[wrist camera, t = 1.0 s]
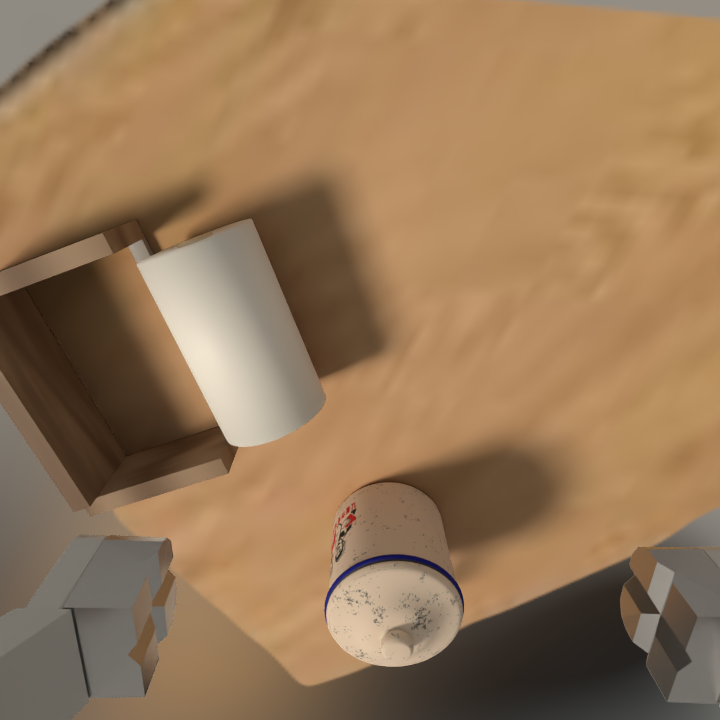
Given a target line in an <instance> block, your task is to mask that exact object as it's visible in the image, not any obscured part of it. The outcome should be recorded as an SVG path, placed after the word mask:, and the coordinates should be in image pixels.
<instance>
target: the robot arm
mask: <svg viewBox="0 0 720 720" xmlns="http://www.w3.org/2000/svg"><path fill="white" fill-rule="evenodd" d="M172 558H173V551H172V544H171V541H170V540H169V539H168V538H163V537H140V536H115V535H110V536H104V535H79V536H77V537H75V538H74V539H73V540H72V541H71V542H70V544H69V545H68V546H67V548H66V549H65V551H64V552H63V554H62V555H61V557H60V558H59V560H58V561H57V562H56V564H55V565H54V567H53V568H52V569H51V571H50V572H49V574H48V575H47V577H46V578H45V580H44V581H43V582H42V584H41V585H40V587H39V588H38V590H37V591H36V593H35V594H34V595H33V597H32V599H31V600H30V601H29V603H28V604H27V606H26V607H25V608H15V609H13V610H11V611H10V612H8V613H7V614H5V615H3V616H2V617H0V720H71V719H72V718H73V717H74V716H75V715H76V714H77V713H78V712H79V711H80V710H81V709H82V708H83V707H84V706H85V705H86V704H87V703H88V702H89V698H117V697H119V698H120V697H145V695H146V693H147V690H148V687H149V685H150V682H151V679H152V677H153V674H154V671H155V668H156V666H157V663H158V660H159V656H158V647H157V644H158V643H159V642H160V641H162V640H163V639H164V638H165V637H166V636H167V635H168V632H169V629H170V627H171V624H172V621H173V616H174V610H175V605H176V578H175V576H174V575H173V574H172V573H171V572H170V571H169V570H168V568H169V566H170V563H171V561H172ZM629 565H630V567H631V569H632V570H633V572H634V574H635V575H634V576H633V577H632V578H631V579H630V580H628V581H627V582H626V583H625V584H624V585H623V590H622V594H621V599H620V604H621V616H622V619H623V622H624V625H625V628H626V630H627V632H628V634H629V636H630V638H631V639H632V641H633V642H634V643H635V644H636V645H638V646H639V647H641V648H642V649H643V650H644V651H646V652H647V653H648V657H647V662H646V666H647V668H648V669H649V671H650V673H651V675H652V676H653V678H654V680H655V682H656V683H657V685H658V687H659V688H660V690H661V692H662V694H663V695H664V697H665V699H666V701H667V702H682V703H708V704H720V547H694V548H677V547H674V548H673V547H638V548H637V549H636V550H635V551H634V553H633V554H632V558H631V561H630V564H629ZM719 707H720V706H719Z"/></svg>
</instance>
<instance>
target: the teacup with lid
mask: <svg viewBox="0 0 720 720" xmlns="http://www.w3.org/2000/svg"><path fill="white" fill-rule="evenodd" d="M463 612H464V600H463V596H462V593H461V590H460V588H459V586H458V584H457V582H456V581H455V577H454V573H453V568H452V564H451V559H450V555H449V550H448V546H447V541H446V537H445V532H444V528H443V523H442V519H441V515H440V512H439V510H438V508H437V507H436V505H435V503H434V502H433V501H432V500H431V499H430V498H429V497H428V496H427V495H426V494H424V493H423V492H421V491H420V490H418V489H416V488H414V487H411V486H409V485H405V484H401V483H392V482H385V483H377V484H372V485H369V486H366V487H363V488H361V489H359V490H357V491H356V492H354V493H353V494H351V495H350V496H349V497H348V498H347V499H346V500H345V501H344V502H343V503H342V504H341V506H340V507H339V509H338V511H337V513H336V515H335V518H334V523H333V536H332V553H331V571H330V588H329V591H328V594H327V597H326V601H325V618H326V622H327V625H328V627H329V630H330V632H331V634H332V636H333V638H334V639H335V641H336V642H337V643H338V644H339V645H340V646H341V647H342V648H343V649H344V650H345V651H346V652H347V653H349V654H350V655H352V656H354V657H355V658H357V659H359V660H362V661H364V662H367V663H370V664H374V665H380V666H405V665H412V664H415V663H419V662H422V661H424V660H427V659H429V658H431V657H433V656H435V655H436V654H438V653H439V652H441V651H442V650H443V649H444V648H446V647H447V646H448V645H449V643H450V642H451V641H452V640H453V639H454V637H455V635H456V634H457V632H458V630H459V628H460V626H461V622H462V618H463Z"/></svg>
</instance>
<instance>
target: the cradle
mask: <svg viewBox="0 0 720 720" xmlns="http://www.w3.org/2000/svg"><path fill="white" fill-rule="evenodd" d="M128 246H129V248H130V250H131V252H132V254H133V256H134V258H135V260H136V262H137V264H138V263H139V262H140V261H142V260H144V259H146V258H148V257H150V256H152V255H154V254H153V252H152V250H151V248H150V246H149V244H148V242H147V240H146V238H145V236H144V234H143V232H142V230H141V228H140V226H139V224H138V222H137V220H134V221H131V222H128V223H126V224H123V225H120V226H118V227H115V228H113V229H110V230H107V231H105V232H102V233H99V234H97V235H94V236H92V237H89V238H86V239H84V240H81V241H78V242H76V243H73V244H71V245H68V246H65V247H63V248H60V249H57V250H55V251H52V252H49V253H47V254H44V255H42V256H39V257H36V258H34V259H31V260H28V261H26V262H23V263H21V264H18V265H15V266H13V267H10V268H7V269H5V270H2V271H0V403H1V405H2V406H3V408H4V409H5V411H6V412H7V414H8V415H9V417H10V418H11V420H12V421H13V423H14V424H15V426H16V427H17V428H18V430H19V431H20V433H21V434H22V436H23V437H24V439H25V440H26V442H27V443H28V445H29V446H30V448H31V449H32V451H33V452H34V454H35V455H36V457H37V458H38V460H39V461H40V463H41V464H42V466H43V467H44V469H45V470H46V472H47V473H48V474H49V476H50V478H51V479H52V480H53V482H54V483H55V485H56V486H57V488H58V489H59V491H60V492H61V494H62V495H63V497H64V498H65V499H66V501H67V502H68V504H69V506H70V507H71V509H72V510H73V512H75V511H78V510H82V509H86V511H87V512H88V514H89V515H90V516H92V515H96V514H99V513H102V512H106V511H109V510H112V509H115V508H118V507H122V506H125V505H128V504H131V503H134V502H138V501H141V500H144V499H147V498H151V497H154V496H157V495H160V494H163V493H167V492H170V491H173V490H176V489H180V488H183V487H186V486H189V485H192V484H196V483H199V482H202V481H205V480H208V479H212V478H215V477H218V476H221V475H225V474H228V473H229V471H230V468H231V465H232V463H233V460H234V457H235V455H236V452H237V449H238V446H233V445H231V444H229V443H228V442H227V440H226V438H225V436H224V434H223V432H222V430H221V428H220V427H216V428H213V429H209V430H206V431H203V432H200V433H197V434H194V435H191V436H188V437H185V438H182V439H178V440H175V441H172V442H169V443H166V444H163V445H160V446H157V447H154V448H151V449H148V450H144V451H141V452H138V453H135V454H132V455H129V456H125V454H124V452H123V451H122V449H121V447H120V446H119V444H118V442H117V441H116V439H115V437H114V436H113V434H112V432H111V431H110V429H109V427H108V426H107V424H106V422H105V421H104V419H103V417H102V416H101V414H100V412H99V411H98V409H97V407H96V406H95V404H94V402H93V401H92V399H91V397H90V396H89V394H88V392H87V391H86V389H85V388H84V386H83V384H82V383H81V381H80V379H79V378H78V376H77V374H76V373H75V371H74V369H73V368H72V366H71V364H70V363H69V361H68V359H67V358H66V356H65V354H64V353H63V351H62V349H61V348H60V346H59V344H58V343H57V341H56V339H55V338H54V336H53V334H52V333H51V331H50V329H49V328H48V326H47V324H46V323H45V321H44V319H43V318H42V316H41V314H40V313H39V311H38V309H37V308H36V306H35V304H34V303H33V301H32V299H31V298H30V296H29V294H28V293H27V291H26V289H25V288H24V287H25V286H28V285H31V284H33V283H36V282H39V281H41V280H44V279H47V278H50V277H52V276H55V275H58V274H60V273H63V272H66V271H68V270H71V269H74V268H76V267H79V266H82V265H84V264H87V263H90V262H92V261H95V260H98V259H100V258H103V257H106V256H108V255H111V254H114V253H116V252H118V251H120V250H122V249H124V248H126V247H128Z"/></svg>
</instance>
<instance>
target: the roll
mask: <svg viewBox="0 0 720 720" xmlns="http://www.w3.org/2000/svg"><path fill="white" fill-rule="evenodd" d="M137 267H138V269H139V270H140V272H141V274H142V276H143V278H144V280H145V282H146V284H147V286H148V288H149V290H150V292H151V294H152V296H153V298H154V300H155V302H156V304H157V306H158V308H159V309H160V311H161V313H162V315H163V317H164V319H165V321H166V323H167V325H168V327H169V329H170V331H171V333H172V335H173V337H174V339H175V341H176V343H177V345H178V347H179V348H180V350H181V352H182V354H183V356H184V358H185V360H186V362H187V364H188V366H189V368H190V370H191V372H192V374H193V376H194V378H195V380H196V382H197V384H198V386H199V388H200V389H201V391H202V393H203V395H204V397H205V399H206V401H207V403H208V405H209V407H210V409H211V411H212V413H213V415H214V417H215V419H216V421H217V423H218V425H219V427H220V428H221V430H222V432H223V434H224V436H225V438H226V440H227V442H228V443H229V444H231V445H233V446H238V447H250V446H257V445H261V444H265V443H268V442H271V441H274V440H277V439H279V438H281V437H284V436H286V435H288V434H290V433H292V432H293V431H295V430H297V429H298V428H300V427H302V426H303V425H305V424H306V423H307V422H309V421H310V420H311V419H312V418H313V417H314V416H315V415H316V414H317V413H318V412H319V411H320V410H321V408H322V407H323V405H324V403H325V400H326V395H325V393H324V390H323V388H322V386H321V383H320V381H319V378H318V376H317V374H316V371H315V369H314V366H313V364H312V362H311V359H310V357H309V354H308V352H307V350H306V347H305V345H304V342H303V340H302V338H301V335H300V333H299V330H298V328H297V326H296V323H295V321H294V319H293V316H292V314H291V311H290V309H289V307H288V304H287V302H286V299H285V297H284V295H283V292H282V290H281V287H280V285H279V283H278V280H277V278H276V275H275V273H274V271H273V268H272V266H271V263H270V261H269V259H268V256H267V254H266V252H265V249H264V247H263V244H262V242H261V240H260V237H259V235H258V232H257V230H256V228H255V225H254V223H253V220H252V219H246V220H242V221H238V222H235V223H232V224H229V225H226V226H223V227H220V228H217V229H215V230H212V231H209V232H207V233H204V234H201V235H199V236H196V237H193V238H191V239H188V240H186V241H183V242H181V243H179V244H176V245H174V246H172V247H169V248H167V249H165V250H162V251H160V252H158V253H156V254H154V255H152V256H150V257H148V258H146V259H144V260H142V261H140V262H139V263H138V264H137Z"/></svg>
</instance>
